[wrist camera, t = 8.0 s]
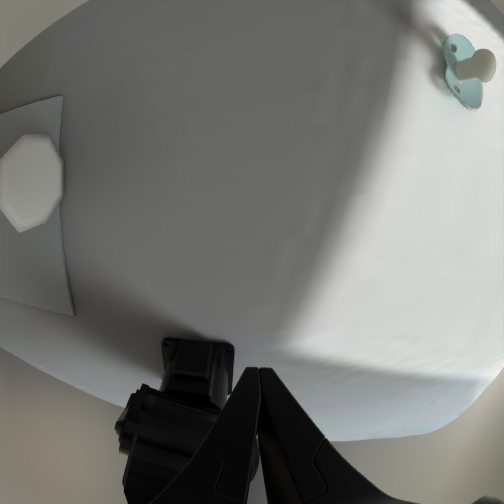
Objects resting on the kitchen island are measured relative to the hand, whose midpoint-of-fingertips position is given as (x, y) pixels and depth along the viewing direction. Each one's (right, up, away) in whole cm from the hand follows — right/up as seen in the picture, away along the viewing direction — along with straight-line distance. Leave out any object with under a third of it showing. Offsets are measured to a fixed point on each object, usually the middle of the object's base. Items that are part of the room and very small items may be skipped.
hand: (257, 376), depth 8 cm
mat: (-23, +8, +11) cm, 26 cm away
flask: (-15, +9, +6) cm, 19 cm away
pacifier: (+19, +20, +8) cm, 28 cm away
